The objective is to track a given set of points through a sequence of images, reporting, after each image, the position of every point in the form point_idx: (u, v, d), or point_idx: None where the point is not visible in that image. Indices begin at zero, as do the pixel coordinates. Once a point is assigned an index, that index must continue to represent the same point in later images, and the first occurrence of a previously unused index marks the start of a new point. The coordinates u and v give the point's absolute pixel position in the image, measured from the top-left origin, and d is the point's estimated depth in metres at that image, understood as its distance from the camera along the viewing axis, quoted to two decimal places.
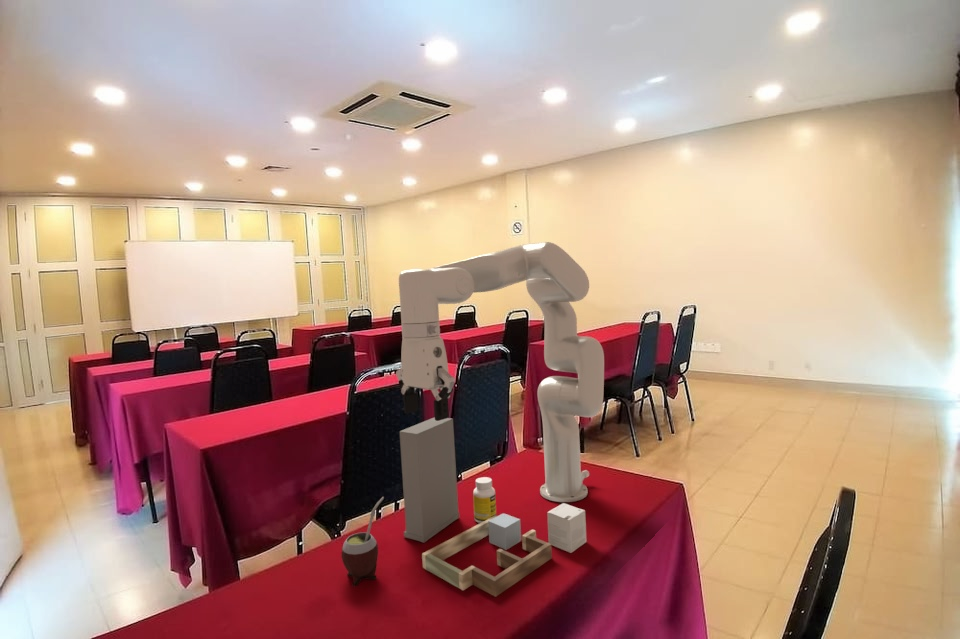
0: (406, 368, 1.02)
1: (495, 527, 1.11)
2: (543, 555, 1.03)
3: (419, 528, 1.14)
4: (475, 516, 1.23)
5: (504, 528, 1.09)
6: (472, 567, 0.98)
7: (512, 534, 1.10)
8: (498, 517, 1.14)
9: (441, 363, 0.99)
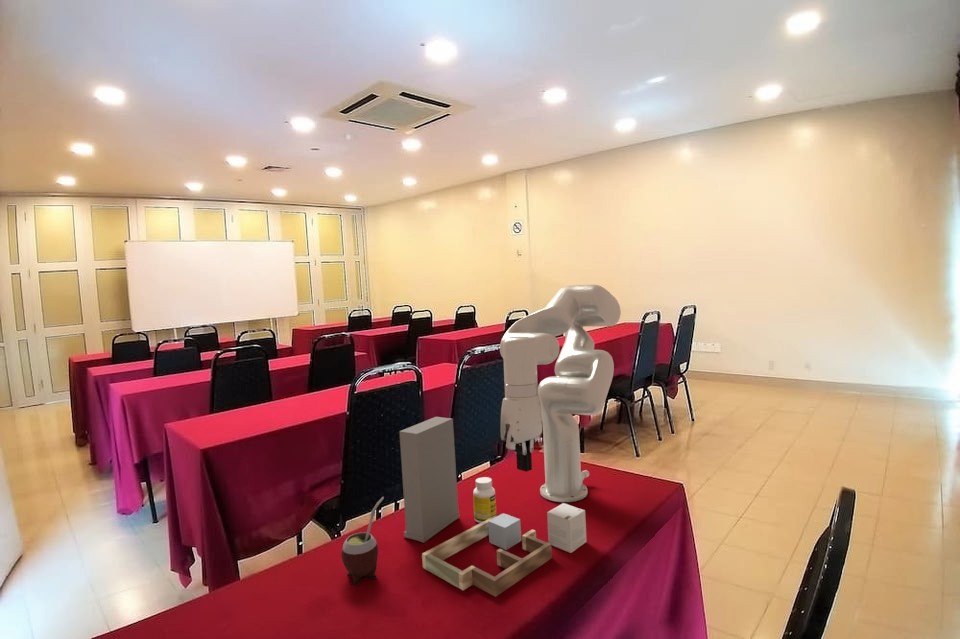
0: (523, 426, 1.13)
1: (495, 527, 1.11)
2: (543, 555, 1.03)
3: (419, 528, 1.14)
4: (475, 516, 1.23)
5: (504, 528, 1.09)
6: (472, 567, 0.98)
7: (512, 534, 1.10)
8: (498, 517, 1.14)
9: None
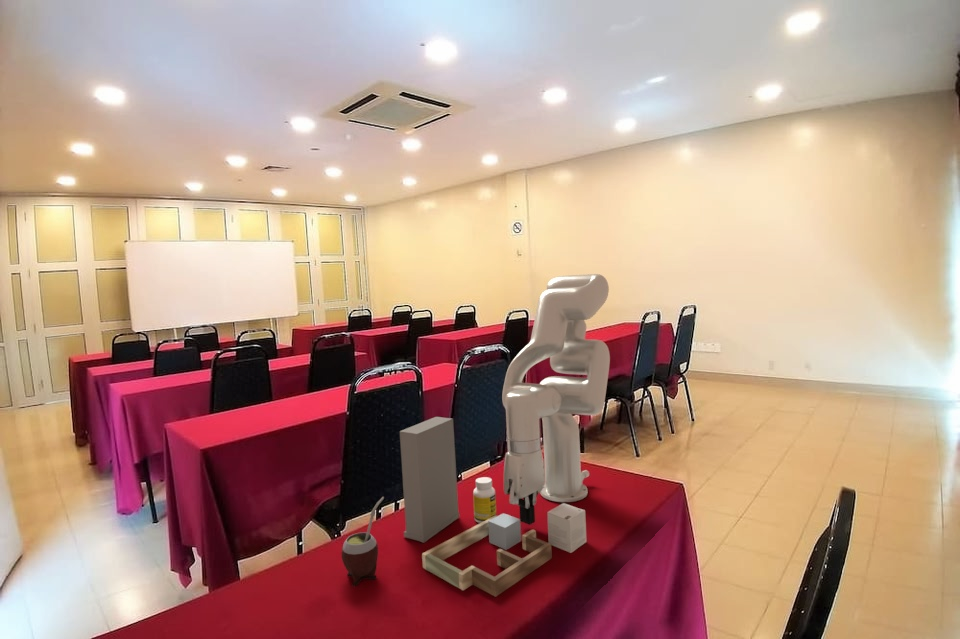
0: (526, 481, 1.14)
1: (495, 527, 1.11)
2: (543, 555, 1.03)
3: (419, 528, 1.14)
4: (475, 516, 1.23)
5: (504, 528, 1.09)
6: (472, 567, 0.98)
7: (512, 534, 1.10)
8: (498, 517, 1.14)
9: None
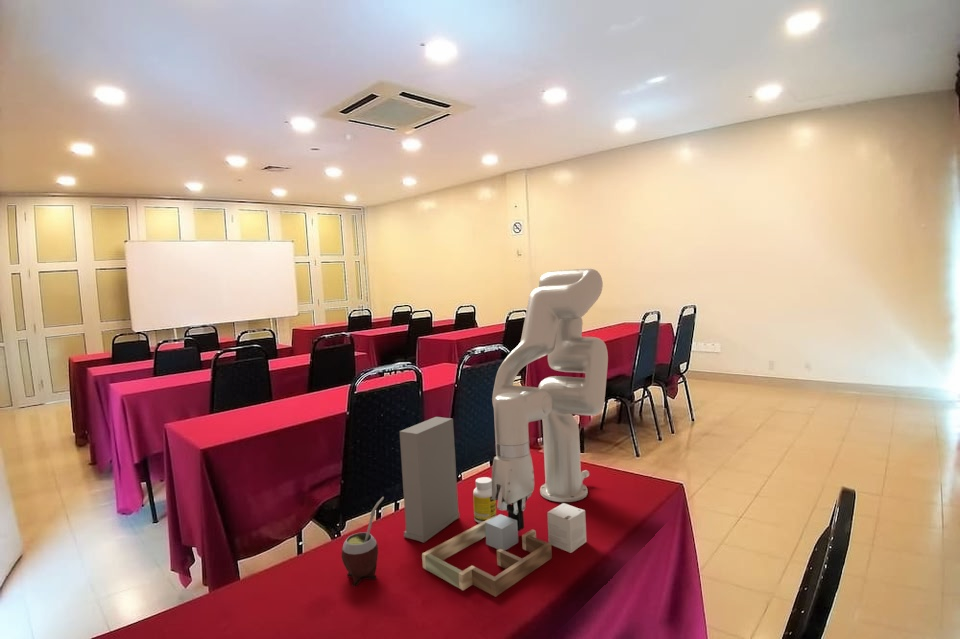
0: (514, 486, 1.11)
1: (492, 528, 1.10)
2: (543, 555, 1.03)
3: (419, 528, 1.14)
4: (475, 516, 1.23)
5: (501, 529, 1.08)
6: (472, 567, 0.98)
7: (509, 535, 1.10)
8: (495, 518, 1.13)
9: None
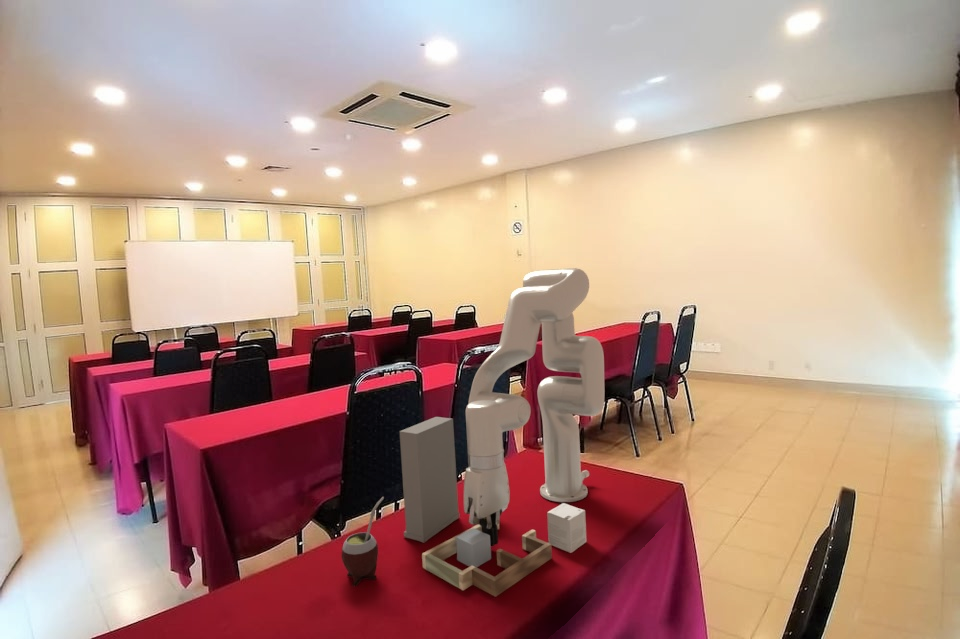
0: (487, 499, 1.05)
1: (463, 544, 1.04)
2: (543, 555, 1.03)
3: (419, 528, 1.14)
4: None
5: (472, 545, 1.02)
6: (472, 567, 0.98)
7: (480, 551, 1.04)
8: (467, 533, 1.07)
9: None
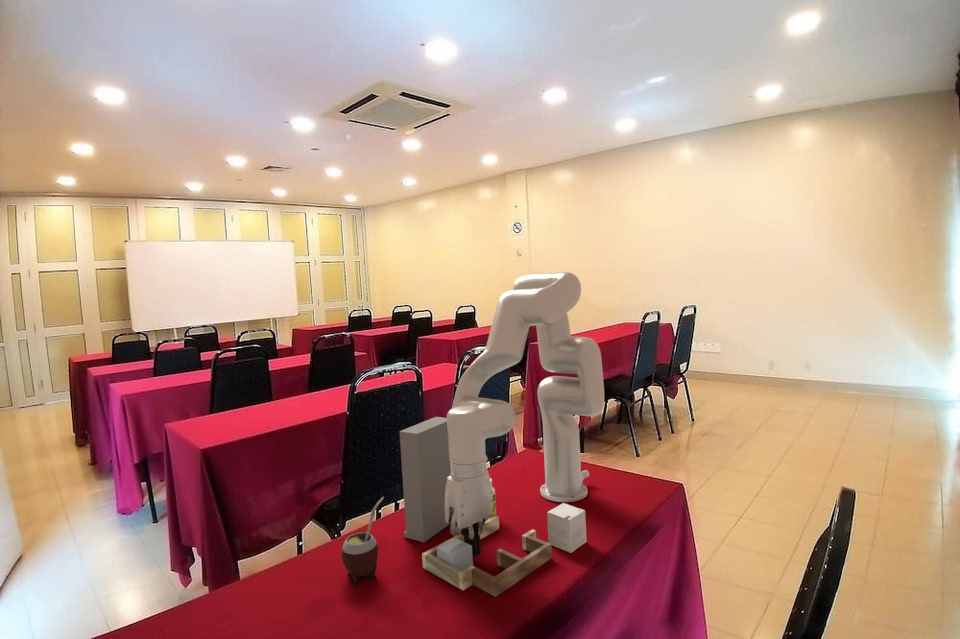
0: (469, 509, 1.01)
1: (443, 554, 1.00)
2: (543, 555, 1.03)
3: (419, 528, 1.14)
4: None
5: (453, 556, 0.98)
6: (472, 567, 0.98)
7: (462, 562, 1.00)
8: (448, 543, 1.03)
9: None
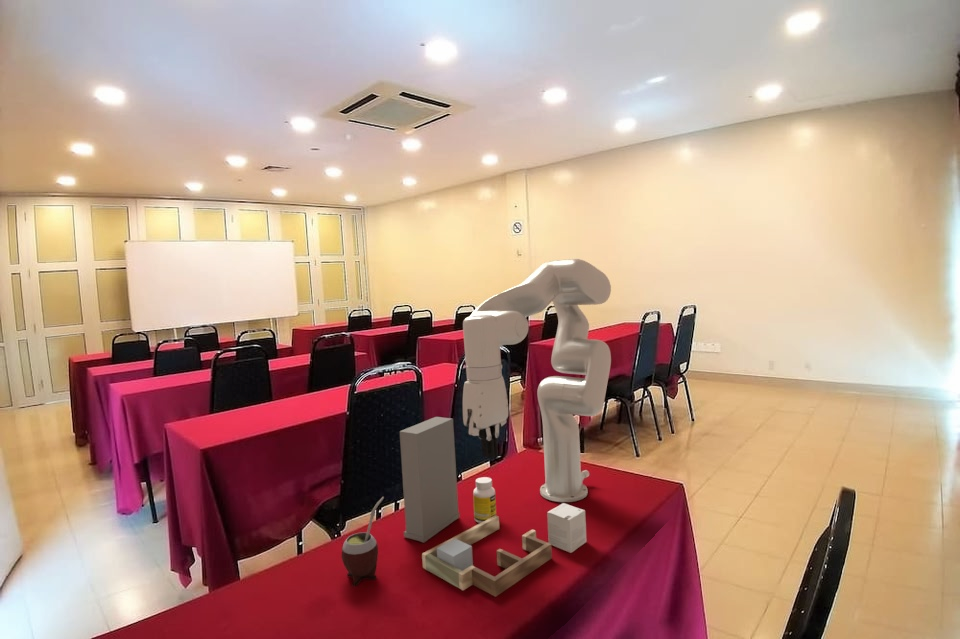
0: (486, 410, 1.06)
1: (443, 555, 1.00)
2: (543, 555, 1.03)
3: (419, 528, 1.14)
4: (475, 516, 1.23)
5: (453, 557, 0.98)
6: (472, 567, 0.98)
7: (462, 563, 1.00)
8: (448, 543, 1.03)
9: None
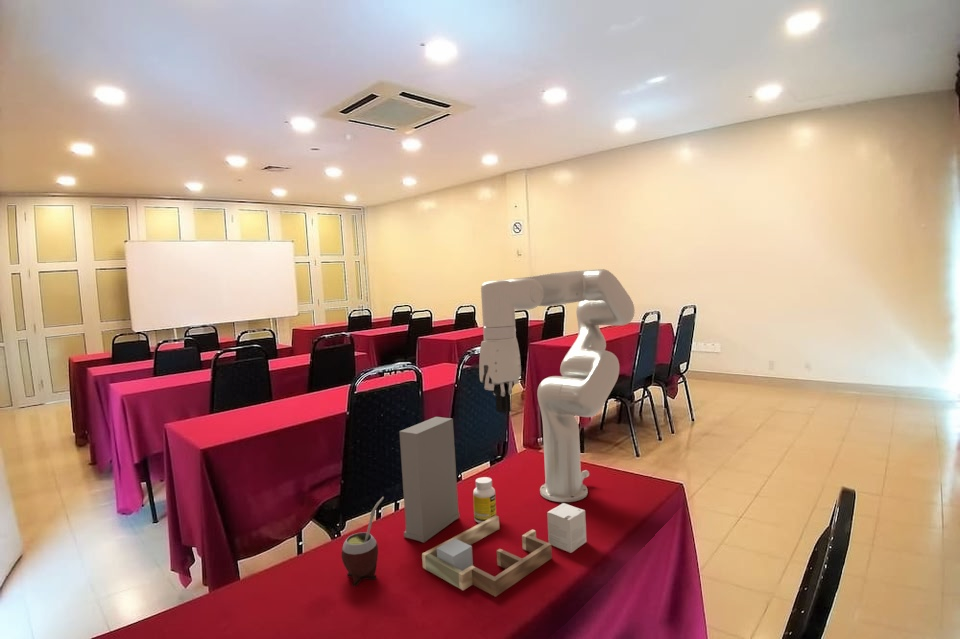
0: (501, 367, 1.15)
1: (443, 555, 1.00)
2: (543, 555, 1.03)
3: (419, 528, 1.14)
4: (475, 516, 1.23)
5: (453, 557, 0.98)
6: (472, 567, 0.98)
7: (462, 563, 1.00)
8: (448, 543, 1.03)
9: None
